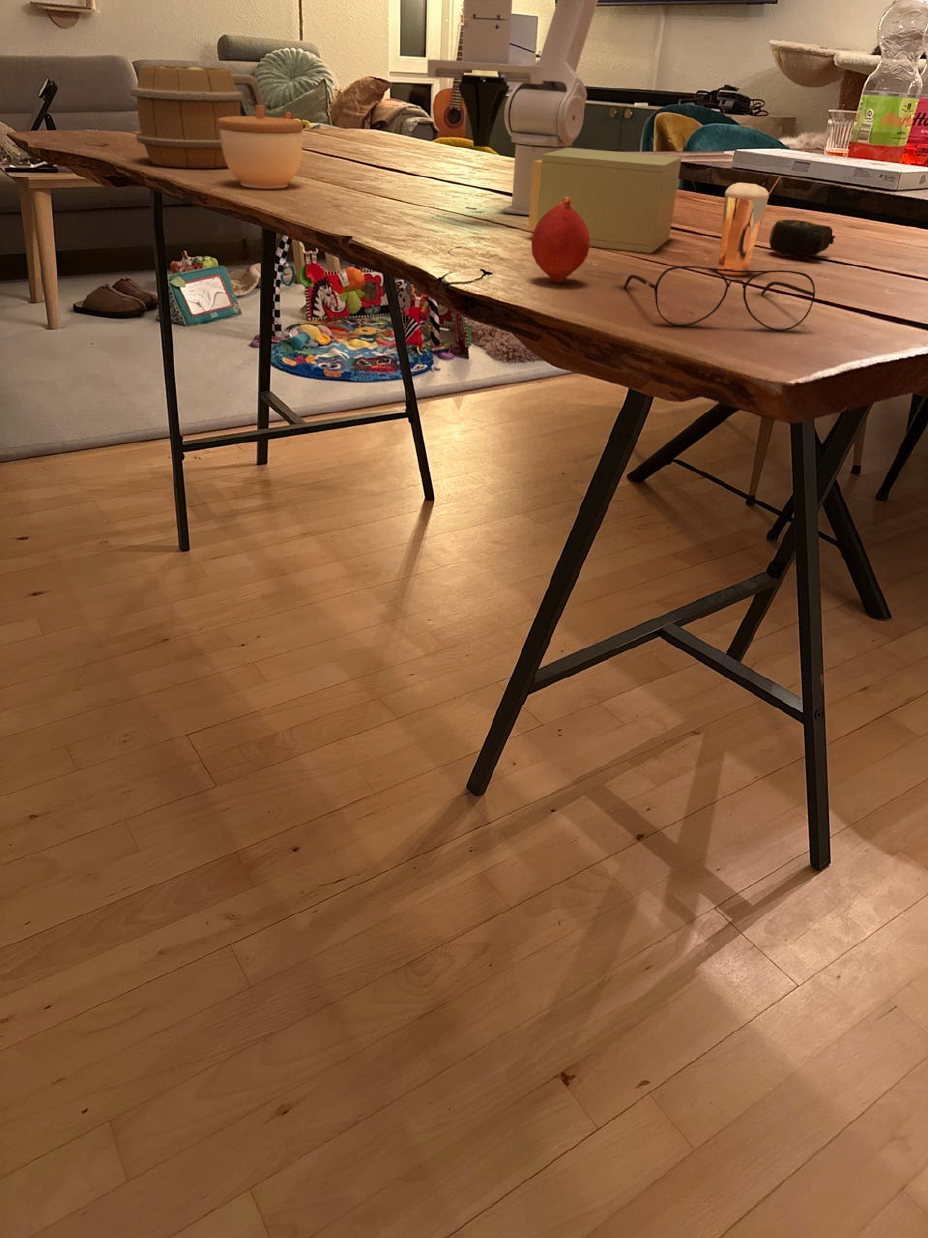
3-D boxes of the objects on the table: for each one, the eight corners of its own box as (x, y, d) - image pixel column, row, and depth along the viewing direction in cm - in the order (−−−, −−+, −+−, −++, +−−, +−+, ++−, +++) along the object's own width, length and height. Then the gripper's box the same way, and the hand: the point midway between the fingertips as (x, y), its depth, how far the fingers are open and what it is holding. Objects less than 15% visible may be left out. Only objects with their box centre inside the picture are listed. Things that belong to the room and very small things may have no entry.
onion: (519, 282, 94) (525, 196, 90) (542, 273, 98) (549, 190, 94) (572, 290, 92) (581, 202, 88) (593, 281, 96) (603, 196, 92)
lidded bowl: (321, 186, 148) (319, 107, 142) (266, 193, 138) (261, 109, 133) (262, 178, 153) (257, 101, 147) (205, 184, 144) (198, 102, 138)
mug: (296, 166, 169) (292, 70, 161) (170, 171, 155) (159, 66, 147) (242, 155, 181) (236, 65, 173) (120, 159, 166) (107, 61, 158)
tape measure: (815, 264, 111) (823, 230, 109) (759, 255, 114) (766, 222, 112) (830, 256, 116) (838, 224, 114) (775, 248, 119) (782, 216, 117)
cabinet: (535, 239, 116) (542, 153, 111) (560, 227, 125) (568, 147, 120) (651, 253, 111) (664, 164, 106) (669, 239, 121) (681, 157, 116)
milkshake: (753, 280, 101) (773, 178, 95) (705, 272, 103) (723, 172, 98) (765, 273, 104) (785, 175, 99) (719, 266, 106) (736, 169, 101)
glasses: (649, 325, 81) (656, 264, 79) (621, 305, 95) (627, 253, 93) (810, 332, 82) (822, 272, 80) (760, 312, 95) (769, 259, 93)
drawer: (518, 229, 116) (523, 160, 112) (543, 218, 125) (548, 153, 121) (634, 242, 112) (644, 171, 108) (651, 230, 120) (661, 163, 116)
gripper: (418, 15, 111) (416, 143, 118) (535, 21, 107) (525, 153, 114) (440, 18, 116) (437, 139, 123) (552, 23, 112) (542, 148, 119)
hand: (481, 146), depth 119 cm, fingers closed
